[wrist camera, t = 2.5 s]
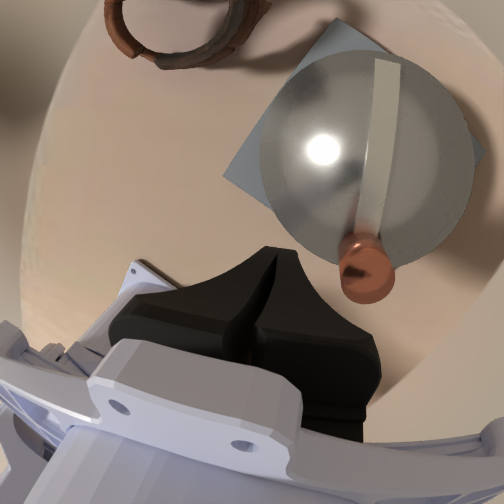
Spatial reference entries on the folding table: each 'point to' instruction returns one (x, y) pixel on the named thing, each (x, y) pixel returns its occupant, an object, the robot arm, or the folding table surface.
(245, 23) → the brown curved ring
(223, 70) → the folding table surface
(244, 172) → the wheel base
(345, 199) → the handwheel
